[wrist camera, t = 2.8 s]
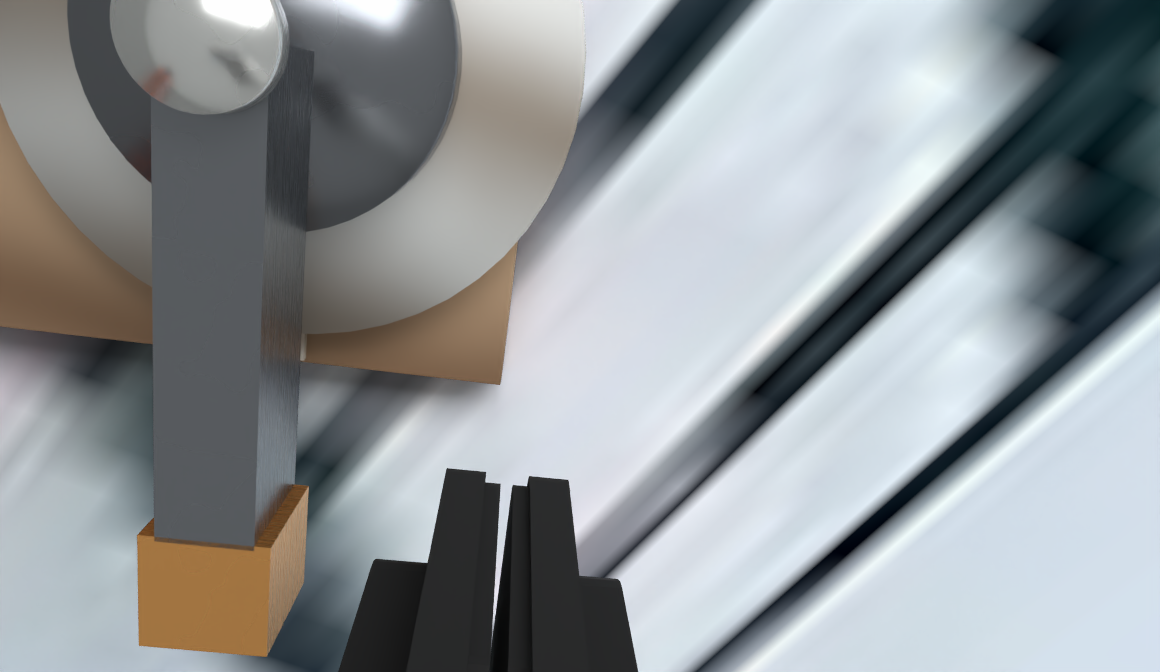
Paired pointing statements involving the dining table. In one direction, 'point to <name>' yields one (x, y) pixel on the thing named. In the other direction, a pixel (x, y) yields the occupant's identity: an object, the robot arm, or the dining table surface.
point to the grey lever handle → (248, 257)
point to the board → (332, 255)
